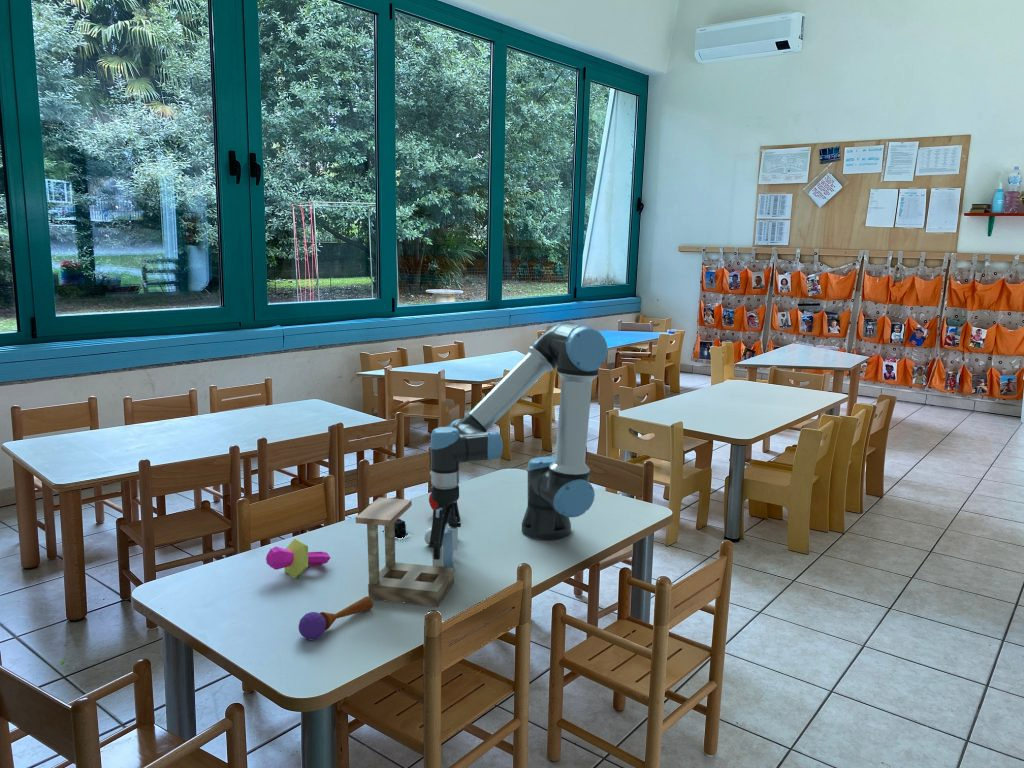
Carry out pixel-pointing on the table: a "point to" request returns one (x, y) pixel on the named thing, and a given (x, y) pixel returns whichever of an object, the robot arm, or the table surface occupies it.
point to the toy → (295, 558)
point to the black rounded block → (400, 528)
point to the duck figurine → (428, 534)
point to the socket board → (413, 584)
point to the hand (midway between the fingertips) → (445, 559)
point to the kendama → (329, 618)
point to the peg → (448, 549)
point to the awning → (385, 515)
